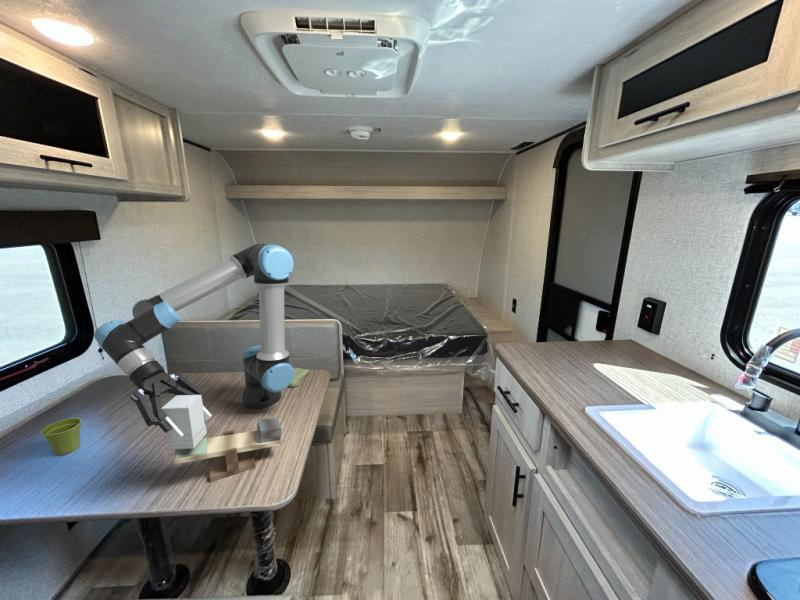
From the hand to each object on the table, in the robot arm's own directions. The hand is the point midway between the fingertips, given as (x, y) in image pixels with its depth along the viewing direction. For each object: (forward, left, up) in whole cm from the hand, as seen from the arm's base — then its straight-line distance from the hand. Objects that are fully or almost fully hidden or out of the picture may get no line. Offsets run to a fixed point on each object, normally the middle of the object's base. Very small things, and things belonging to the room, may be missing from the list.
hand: (195, 427), depth 95 cm
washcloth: (-63, -11, -17) cm, 66 cm away
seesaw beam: (-7, +4, -10) cm, 13 cm away
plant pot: (+2, -52, -16) cm, 55 cm away
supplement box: (0, -3, -5) cm, 6 cm away
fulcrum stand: (-7, +4, -16) cm, 18 cm away
